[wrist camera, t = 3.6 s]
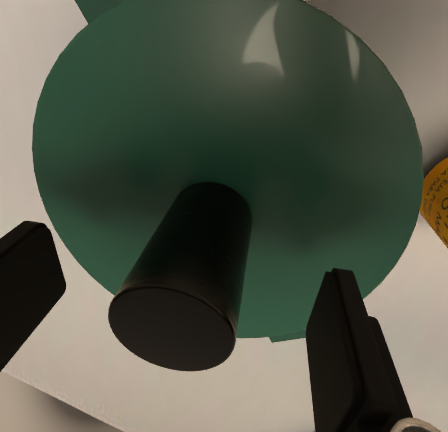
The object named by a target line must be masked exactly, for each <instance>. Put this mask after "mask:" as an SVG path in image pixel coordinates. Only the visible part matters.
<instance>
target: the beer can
mask: <svg viewBox="0 0 448 432" xmlns="http://www.w3.org/2000/svg"><path fill="white" fill-rule="evenodd" d="M419 211H420V213H421V214H422V216H423V217H424V219H425V220H426V221H427V222H428V224H429V225H430V226H431V228H432V229H433V230H434V231H435V233H436V234H437V235H438V236H439V238H440V239H441V240H442V242H443V243H444V244H445V245H446V247H447V248H448V157H447V158H445V159H444V160H442V161H441V162H440V163H438V164H437V165H436V166H435V167H434V168H433V169H432V170H431V171H430V172H429V173H428V174H427V176H426V177H425V179H424V180H423V192H422V202H421V206H420V210H419Z"/></svg>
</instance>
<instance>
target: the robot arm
mask: <svg viewBox="0 0 448 432" xmlns="http://www.w3.org/2000/svg"><path fill="white" fill-rule="evenodd" d="M65 290H66V282H65V279H64V275H63V272H62V268H61V265H60V261H59V258H58V254H57V251H56V248H55V244H54V241H53V237H52V234H51V231H50V229H48V228H47V226H46V225H45V224H43V223H38V222H32V221H24V222H22V223H21V224H19V225H18V226H17V227H15V228H14V229H13V230H11V231H10V232H9V233H7V234H6V235H4V236H3V237H2V238H0V372H1V370H2V369H3V368H4V367H5V366H6V364H7V363H8V362H9V361H10V359H11V358H12V357H13V356H14V354H15V353H16V352H17V351H18V350H19V348H20V347H21V346H22V345H23V343H24V342H25V341H26V340H27V338H28V337H29V336H30V335H31V334H32V332H33V331H34V330H35V329H36V327H37V326H38V325H39V324H40V322H41V321H42V320H43V319H44V318H45V316H46V315H47V314H48V313H49V311H50V310H51V309H52V308H53V306H54V305H55V304H56V303H57V302H58V300H59V299H60V298H61V297H62V295H63V294H64V292H65ZM306 343H307V353H308V363H309V373H310V383H311V392H312V402H313V412H314V422H315V432H441V431H440V430H438V429H437V428H435V427H434V426H432V425H431V424H429V423H427V422H425V421H422V420H420V419H416V418H413V416H412V413H411V410H410V408H409V405H408V402H407V399H406V396H405V394H404V391H403V388H402V385H401V383H400V380H399V377H398V374H397V371H396V369H395V366H394V363H393V360H392V358H391V355H390V352H389V349H388V346H387V344H386V341H385V338H384V335H383V333H382V330H381V327H380V324H379V322H378V320H377V319H376V318H375V317H371V316H368V314H367V311H366V308H365V305H364V302H363V299H362V296H361V293H360V290H359V287H358V284H357V281H356V278H355V275H354V272H353V271H352V270H345V269H338V268H333V269H332V270H331V272H328V271H326V272H325V274H324V277H323V280H322V283H321V286H320V289H319V292H318V294H317V297H316V300H315V303H314V306H313V309H312V312H311V315H310V317H309V320H308V323H307V326H306Z"/></svg>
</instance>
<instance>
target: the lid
mask: <svg viewBox="0 0 448 432" xmlns="http://www.w3.org/2000/svg"><path fill="white" fill-rule="evenodd" d="M32 152H33V163H34V172H35V176H36V180H37V185H38V189H39V193H40V196H41V198H42V201H43V204H44V207H45V209H46V212H47V214H48V216H49V218H50V220H51V222H52V224H53V226H54V228H55V230H56V232H57V233H58V235H59V237H60V238H61V240H62V241H63V243H64V244H65V246H66V247H67V249H68V250H69V251H70V253H71V254H72V255H73V256H74V258H75V259H76V260H77V261H78V263H79V264H80V265H81V266H82V267H83V268H84V269H85V270H86V271H87V272H88V273H89V274H90V275H91V276H92V277H93V278H94V279H95V280H96V281H97V282H98V283H100V284H101V285H102V286H103V287H104V288H105V289H107V290H108V291H109V292H111V293H112V294H113V295H115V296H114V298H113V300H112V302H111V303H110V306H109V312H108V319H109V324H110V327H111V329H112V331H113V333H114V335H115V336H116V338H117V339H118V340H119V341H120V342H121V343H122V344H123V345H124V346H125V347H126V348H127V349H128V350H130V351H131V352H132V353H134V354H135V355H137V356H138V357H140V358H142V359H144V360H146V361H148V362H150V363H152V364H155V365H157V366H161V367H164V368H168V369H172V370H178V371H201V370H207V369H210V368H213V367H216V366H218V365H220V364H221V363H223V362H224V361H225V360H226V359H227V358H228V357H229V356H230V355H231V353H232V351H233V349H234V346H235V342H236V338H261V337H270V336H278V335H283V334H288V333H293V332H297V331H300V330H304V329H306V326H307V323H308V320H309V317H310V315H311V312H312V309H313V306H314V303H315V300H316V297H317V294H318V292H319V289H320V286H321V283H322V280H323V277H324V274H325V272H326V271H328V272H331V270H332V269H333V268H338V269H345V270H352V271H353V272H354V275H355V278H356V281H357V284H358V287H359V290H360V293H361V296H362V299H364V298H365V297H366V296H367V295H368V294H370V293H371V292H372V291H373V290H374V289H375V288H376V287H377V286H378V285H379V284H380V283H381V282H382V281H383V280H384V279H385V277H386V276H387V275H388V274H389V273H390V271H391V270H392V269H393V268H394V266H395V265H396V263H397V262H398V260H399V258H400V257H401V255H402V254H403V252H404V250H405V249H406V247H407V245H408V242H409V240H410V238H411V235H412V233H413V231H414V228H415V226H416V222H417V218H418V214H419V210H420V206H421V202H422V192H423V180H424V170H423V157H422V147H421V143H420V139H419V135H418V131H417V127H416V123H415V119H414V117H413V115H412V112H411V110H410V108H409V106H408V103H407V101H406V99H405V97H404V94H403V92H402V90H401V89H400V87H399V86H398V84H397V83H396V81H395V80H394V78H393V77H392V75H391V74H390V72H389V71H388V69H387V68H386V66H385V65H384V63H383V62H382V61H381V60H380V59H379V58H378V57H377V56H376V55H375V53H374V52H373V51H372V50H371V49H370V48H369V47H368V46H367V45H366V44H365V43H364V42H363V41H362V40H361V38H359V37H358V36H357V35H355V34H354V33H353V32H352V31H350V30H349V29H348V28H346V27H345V26H344V25H342V24H341V23H340V22H339V21H337V20H336V19H335V18H333V17H332V16H330V15H329V14H327V13H325V12H323V11H321V10H319V9H317V8H315V7H313V6H312V5H310V4H308V3H306V2H304V1H302V0H124V1H122V2H120V3H119V4H117V5H115V6H114V7H112V8H110V9H109V10H107V11H105V12H103V13H102V14H100V15H99V16H98V17H96V18H95V19H94V20H93V21H92V22H90V23H89V24H88V25H87V26H86V27H85V28H83V29H82V30H81V31H80V32H79V33H78V34H77V35H76V36H75V37H74V38H73V40H72V41H71V42H70V43H69V44H68V46H67V47H66V48H65V49H64V51H63V52H62V53H61V54H60V55H59V57H58V59H57V61H56V62H55V64H54V66H53V68H52V69H51V71H50V73H49V75H48V77H47V78H46V81H45V84H44V86H43V89H42V92H41V95H40V97H39V100H38V103H37V108H36V114H35V119H34V124H33V141H32Z"/></svg>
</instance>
